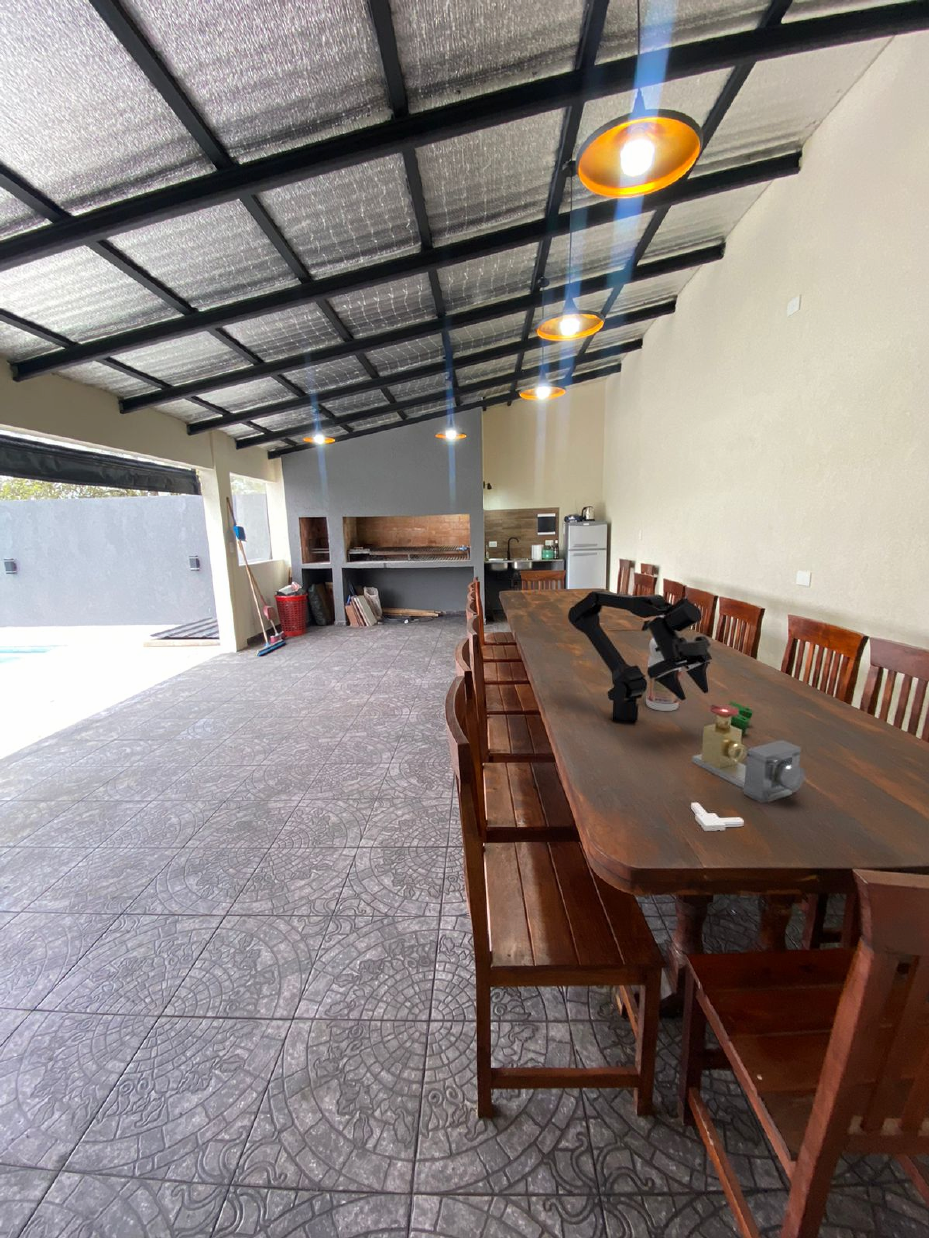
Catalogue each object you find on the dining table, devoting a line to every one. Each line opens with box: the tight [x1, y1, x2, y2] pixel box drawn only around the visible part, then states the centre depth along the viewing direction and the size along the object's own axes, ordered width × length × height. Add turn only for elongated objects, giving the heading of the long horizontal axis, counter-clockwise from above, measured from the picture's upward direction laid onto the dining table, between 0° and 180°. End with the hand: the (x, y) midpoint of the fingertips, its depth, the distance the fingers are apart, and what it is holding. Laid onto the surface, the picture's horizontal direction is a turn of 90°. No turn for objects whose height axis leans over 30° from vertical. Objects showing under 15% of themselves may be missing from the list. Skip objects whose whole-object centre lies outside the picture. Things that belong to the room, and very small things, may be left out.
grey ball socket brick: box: [692, 739, 806, 804], centre depth 108 cm, size 22×10×10 cm, turn 23°
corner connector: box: [690, 802, 745, 832], centre depth 95 cm, size 8×8×2 cm
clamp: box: [728, 701, 754, 735], centre depth 136 cm, size 12×6×9 cm, turn 139°
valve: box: [701, 703, 748, 768], centre depth 112 cm, size 8×6×13 cm
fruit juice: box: [645, 615, 682, 712], centre depth 151 cm, size 9×9×28 cm
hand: (695, 696), depth 124 cm, fingers open, 9 cm apart
